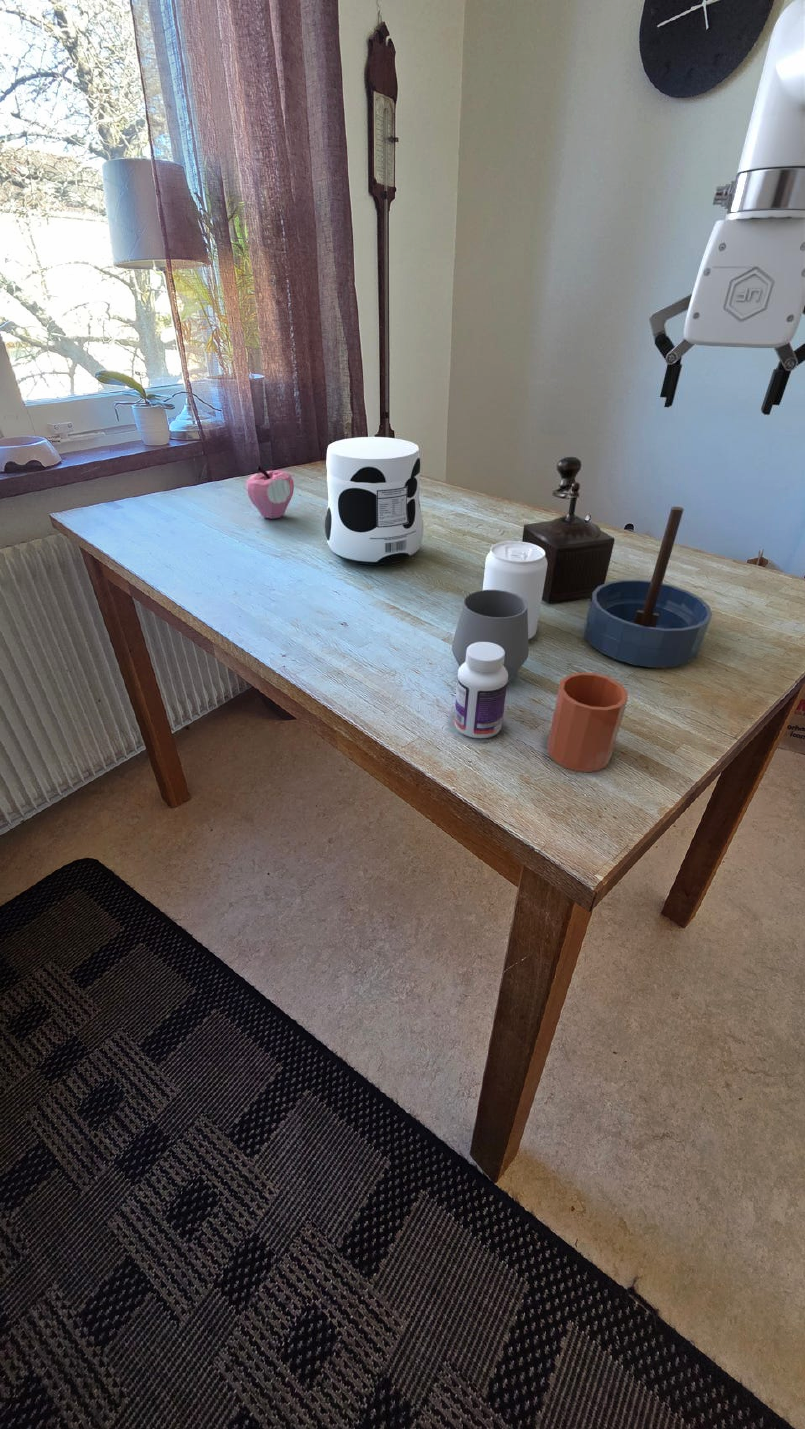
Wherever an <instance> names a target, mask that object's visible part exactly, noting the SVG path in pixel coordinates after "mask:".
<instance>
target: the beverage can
mask: <svg viewBox="0 0 805 1429" xmlns="http://www.w3.org/2000/svg"><path fill="white" fill-rule="evenodd" d="M484 562H485V563H484V564H485V565H484V574H483V582H482V590H501V591H507V592H510V593H513V594H516V595H518V596H520V597H521V598H523V599H524V600H525V601H526V603H527V613H528V640H531V639H533V637H534V636H536V635H537V634H536V633H537V631H538V626H539V625H538V624H539V617H540V613H541V607H542V600H543V599H542V595H543V589H544V583H545V577H546V571H547V559H546V557H545V551H544V550H543V549H542V548H541V547H539V546H537V545H534V544H531V543H527V542H522V541H519V540H507V541H500V542H497V543H495V544H493V545H492V546H491V547H490V551H489V552H488V554H487V555H486V557H485V561H484Z"/></svg>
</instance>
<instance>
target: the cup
mask: <svg viewBox="0 0 805 1429" xmlns="http://www.w3.org/2000/svg"><path fill="white" fill-rule="evenodd" d="M477 642H490V643H494V644H497V645H499V646H501V647H502V648H503V649H504V651H505V656H504V664H503V666H504V667H505V668H506V670H507V672H508V682H510V681H511V680H512V679H513V678H514V676H515V675H516V674H517V672H518V671H519V670H521V668H522V667H523V665H524V664H525V662H526V661H527V659H528V658H529V654H530V653H529V652H530V651H529V639H528V613H527V603H526V601H525V600H524V599H523V598H521V597H520V596H518V595H516V594H513V593H510V592H507V591H501V590H483V589H481V590H475V591H473V592H471V593H468V594H467V595H466V596H465V597H464V598H463V601H462V605H461V609H460V612H459V616H458V619H457V624H456V627H455V632H454V634H453V639H452V643H451V644H452V645H451V652H452V655H453V657H454V659H455V661H456V663H457V665H458V668H460V666H461V665H462V664H463V663H465V660H466V651H467V648H468V646H470V645H471V644H473V643H477Z"/></svg>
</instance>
